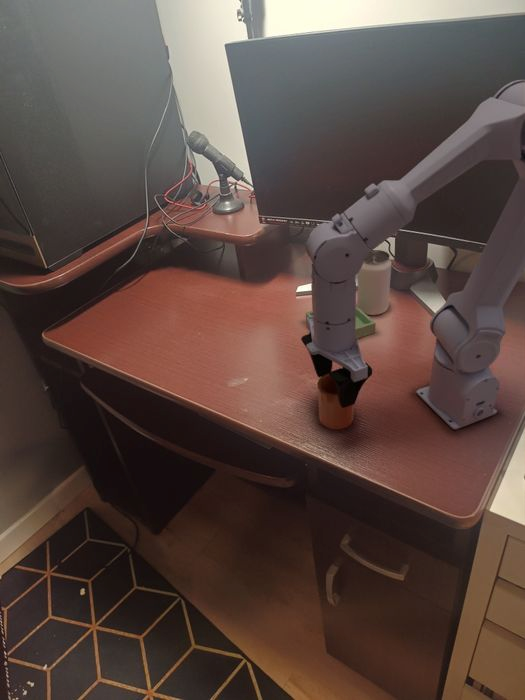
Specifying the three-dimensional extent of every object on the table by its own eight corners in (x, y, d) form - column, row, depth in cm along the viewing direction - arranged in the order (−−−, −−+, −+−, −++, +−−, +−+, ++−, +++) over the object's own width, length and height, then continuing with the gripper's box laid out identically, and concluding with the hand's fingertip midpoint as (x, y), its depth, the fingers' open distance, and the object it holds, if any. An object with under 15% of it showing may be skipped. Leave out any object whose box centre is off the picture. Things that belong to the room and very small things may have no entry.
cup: (359, 422, 72) (360, 389, 68) (328, 434, 71) (327, 400, 67) (342, 401, 76) (342, 368, 72) (313, 411, 75) (311, 379, 71)
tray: (375, 332, 91) (375, 322, 89) (328, 348, 88) (328, 337, 87) (349, 309, 98) (349, 299, 97) (306, 322, 96) (305, 312, 95)
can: (386, 299, 100) (389, 248, 93) (390, 315, 95) (393, 262, 88) (356, 300, 101) (356, 249, 94) (358, 316, 96) (359, 264, 89)
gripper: (285, 297, 67) (292, 369, 75) (332, 350, 55) (334, 429, 63) (329, 284, 68) (331, 357, 76) (383, 333, 57) (378, 412, 65)
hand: (335, 388), depth 70 cm, fingers open, 7 cm apart
